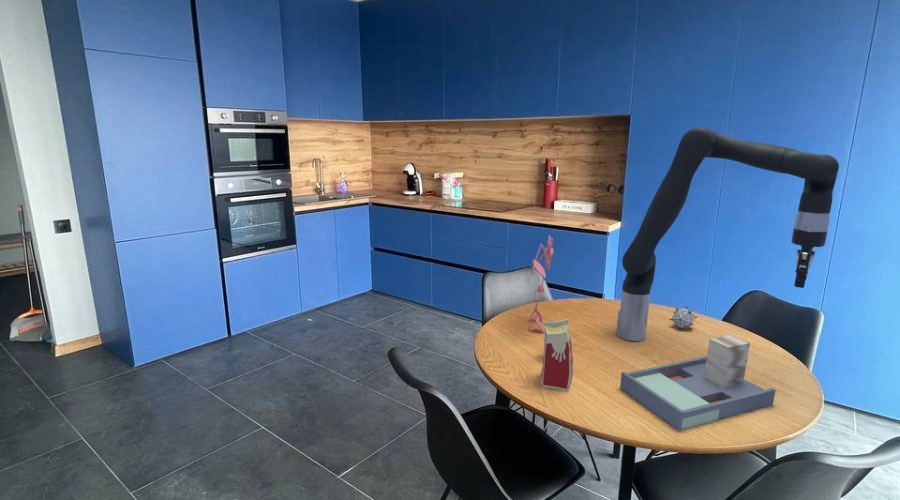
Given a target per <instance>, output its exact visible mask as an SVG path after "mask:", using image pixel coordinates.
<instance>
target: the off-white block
mask: <svg viewBox="0 0 900 500" xmlns="http://www.w3.org/2000/svg"><path fill="white" fill-rule="evenodd" d="M750 346H751V342H749V341H746V340H744V339H741V338H739V337H737V336H735V335H732V334H727V335H721V336H716V337H711V338H709V341H708V347H707V354H706V356H707V360H706V367H705V374H704V378H706V379H708V380H710V381H712V382H713V383H715V384H717V385H719V386H720V387H722V388H723V387H727V386H731V385H735V384H740V383H744V379H745V377H746V370H747V364H748V357H749V351H750Z"/></svg>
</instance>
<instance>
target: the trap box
mask: <svg viewBox="0 0 900 500" xmlns="http://www.w3.org/2000/svg"><path fill="white" fill-rule="evenodd" d="M706 360H707V355H706V356H702V357H701V356H700V357H696V358H692V359H687V360H683V361H677V362H672V363H668V364H663V365H658V366H653V367H648V368H644V369H643V368H642V369H639V370H634V371H629V372H625V371H622V372H621V374H620V384H619V389H620V390H622V391H623V392H625V393H626V394H627V395H629V396H630V397H631V398H632V399H634V400H636V401H637V402H638V403H639V404H641V405H643V406H644V408H646V409H647V410H649V411H650V412H651V413H654V414H655V415H656V416H658V417H659V418H660V419H662V420H663V421H664V422H666V423H667V424H668V425H670V426H672V427H673V428H674V429H676V430H677V431H681V430H685V429H690V428H691V427H692V428H693V427H696V426H699V425H703V424H708V423H711V422H714V421H715V422H716V421H718V420H722V419H726V418H729V417H732V416H736V415H741V414H744V413H748V412H752V411H754V410H758V409H763V408H766V407H770V406H774V401H775V396H776V392H777V389H775V388H773V387H771V388H766V389H764V388H763V387H761V386H759V385H756V384H754V383H753V382H751V381H749V380H747V379H745V378H744V383H740V384H735V385H731V386H727V387H723V388H722V387H720V386H719V385H717V384H715V383H713V382H712V381H710V380H708V379H706V378H704V374H705V367H706Z"/></svg>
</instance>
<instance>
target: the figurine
mask: <svg viewBox="0 0 900 500" xmlns="http://www.w3.org/2000/svg"><path fill="white" fill-rule="evenodd" d="M547 237H548V238H547V242H546V243H547V244H546V247H545V246H544V245H543V244H542V243H540V244H539V246H538V250H537V253H536V256H535V259H532V266H531V275H533V274H534V272H535V270H536V272H537V273H538V274H539V275H541V277H542V280H541V281H542V282H541V285H539V286H537V288H536V290H534V301H535V306H534V307H533V309H534V310H533V311H532V313H531V315H530V316H529V318H528V320H527V321H528V322H529V321H531V319H532V317H533V320H532V321H531V323H530V325H529V326H528V327H527V331H529V330H530V329H531V327H532V325H533V324H534V323H536V324H537V326H538V328H539V329H540V330H541V331H542V333H545V328H544V327H543V325H542V324H543V323H542V322H541V320H543V319H542V318H543V316H542V314H541V313H540V311H539V308H538V300H539V298H540V296H541V294H542V293H544V291H545V287H544V281H545V279H546V278H547V277H546V271H545V270H546V269H547V271H549V272H550V270H551V262H552V261H551V259H553V257H554V255H555V254H554V253H555V252H554V248H553V242H554V241H553V237H551V235H548V236H547ZM541 249H542V250H543V253H542V255H540V258H539V259H538V257H539V254H540V251H541ZM543 258H545V265H544V266H545V269H544V267H543V266H542V265H541V264H540V261H541V260H542V259H543ZM536 292H538V293H539V295H538V297H537V296H536V295H537V294H536ZM552 319H555V320H556V318H555V317H554V316H553V317H552ZM561 320H562V319H561ZM561 320H559V321H561ZM526 336H528V337H529V335H527V334H526Z"/></svg>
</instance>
